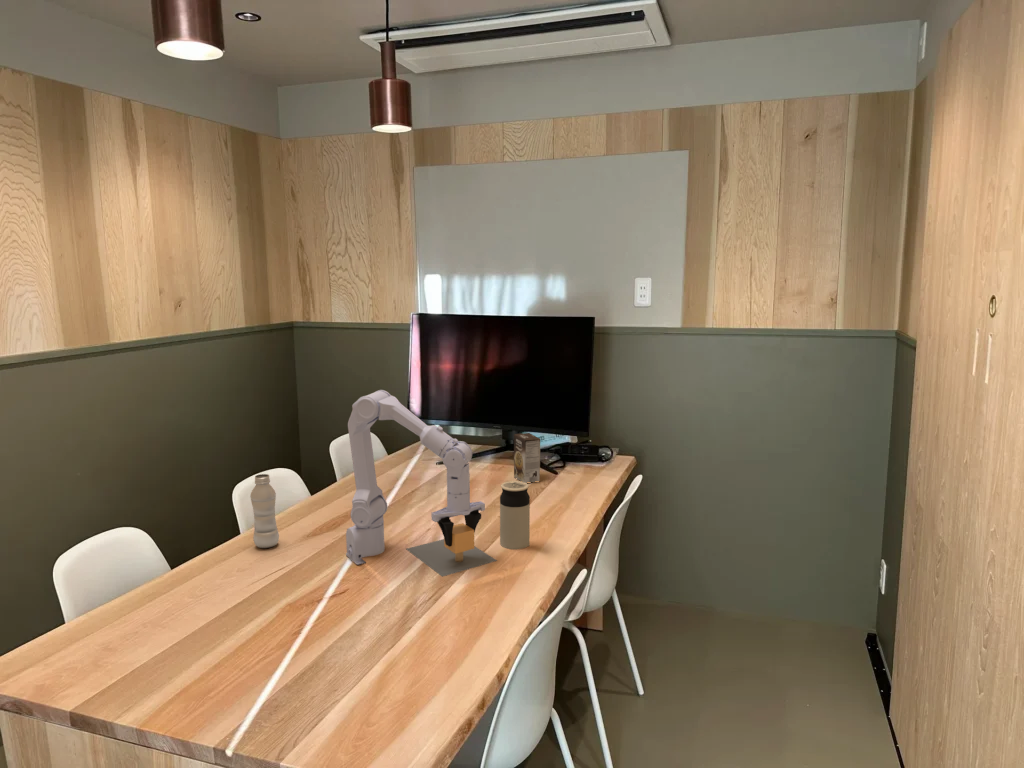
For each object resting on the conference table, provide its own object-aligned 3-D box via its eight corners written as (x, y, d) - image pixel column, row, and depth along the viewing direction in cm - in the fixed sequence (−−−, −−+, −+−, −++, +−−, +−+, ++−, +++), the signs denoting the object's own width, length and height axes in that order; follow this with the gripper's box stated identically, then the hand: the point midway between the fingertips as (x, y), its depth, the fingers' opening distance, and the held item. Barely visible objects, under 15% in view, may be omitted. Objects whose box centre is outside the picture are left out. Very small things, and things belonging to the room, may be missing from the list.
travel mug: (526, 555, 184) (526, 490, 180) (497, 553, 185) (497, 488, 182) (531, 543, 191) (532, 481, 188) (503, 541, 193) (503, 479, 190)
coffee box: (513, 477, 250) (513, 434, 247) (529, 475, 253) (529, 432, 250) (524, 484, 242) (524, 439, 239) (540, 482, 245) (540, 437, 242)
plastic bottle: (271, 551, 186) (267, 480, 182) (248, 549, 187) (243, 478, 184) (284, 542, 192) (279, 473, 189) (262, 540, 193) (257, 471, 190)
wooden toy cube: (455, 553, 173) (454, 534, 172) (444, 546, 177) (443, 527, 176) (474, 548, 176) (474, 529, 175) (463, 541, 180) (462, 523, 179)
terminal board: (442, 582, 168) (442, 562, 167) (405, 554, 185) (405, 536, 184) (497, 566, 177) (497, 547, 176) (457, 540, 193) (457, 523, 193)
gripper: (440, 501, 166) (441, 554, 169) (491, 489, 175) (491, 540, 177) (426, 493, 172) (428, 544, 175) (476, 482, 180) (477, 532, 183)
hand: (459, 542), depth 176 cm, fingers closed on wooden toy cube, 6 cm apart
